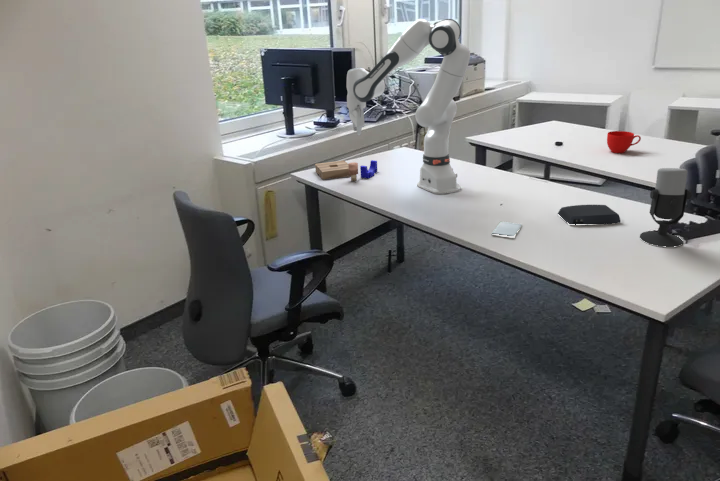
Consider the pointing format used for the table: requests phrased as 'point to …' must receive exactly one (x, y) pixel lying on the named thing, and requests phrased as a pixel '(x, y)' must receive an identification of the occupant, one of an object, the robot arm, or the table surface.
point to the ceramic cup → (620, 141)
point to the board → (333, 169)
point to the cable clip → (369, 173)
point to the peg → (353, 170)
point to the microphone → (667, 205)
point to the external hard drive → (589, 214)
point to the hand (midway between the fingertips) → (357, 132)
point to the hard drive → (507, 228)
